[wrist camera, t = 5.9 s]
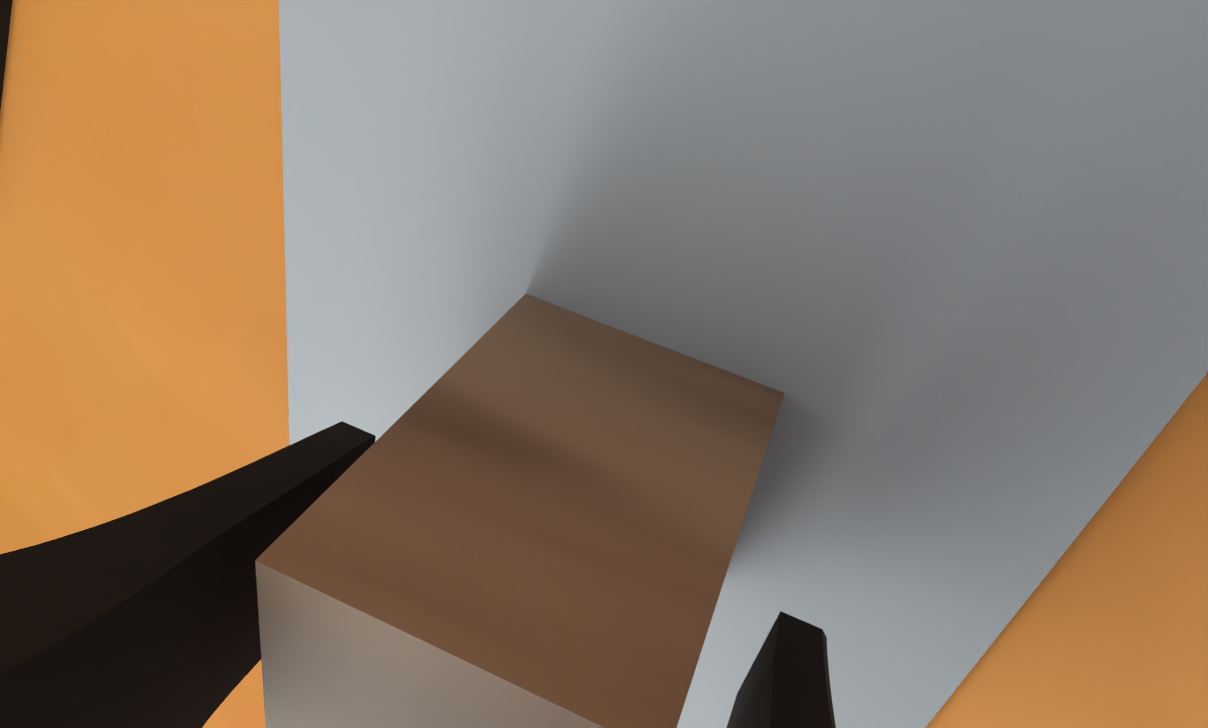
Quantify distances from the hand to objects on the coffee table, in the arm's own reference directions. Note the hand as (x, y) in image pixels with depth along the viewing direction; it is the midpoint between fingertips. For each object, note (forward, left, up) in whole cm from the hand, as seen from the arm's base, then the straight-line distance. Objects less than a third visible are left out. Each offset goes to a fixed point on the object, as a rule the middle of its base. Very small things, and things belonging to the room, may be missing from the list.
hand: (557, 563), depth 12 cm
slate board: (0, 0, -3) cm, 3 cm away
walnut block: (0, 0, -3) cm, 3 cm away
